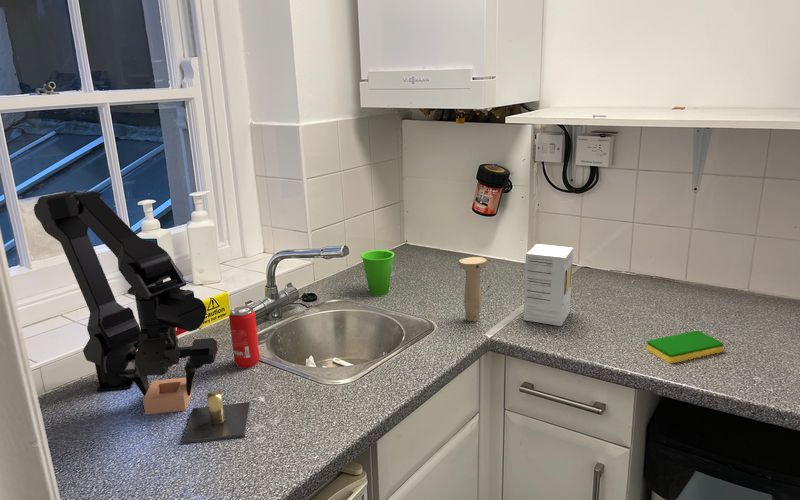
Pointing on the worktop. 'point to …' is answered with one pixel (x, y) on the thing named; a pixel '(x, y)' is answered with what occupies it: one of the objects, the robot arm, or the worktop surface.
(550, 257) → the supplement box
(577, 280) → the worktop surface
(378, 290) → the cup
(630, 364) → the worktop surface
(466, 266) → the handle
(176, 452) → the worktop surface
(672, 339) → the dish sponge
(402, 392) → the worktop surface
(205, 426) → the black plate with peg
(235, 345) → the beverage can
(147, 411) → the ring
